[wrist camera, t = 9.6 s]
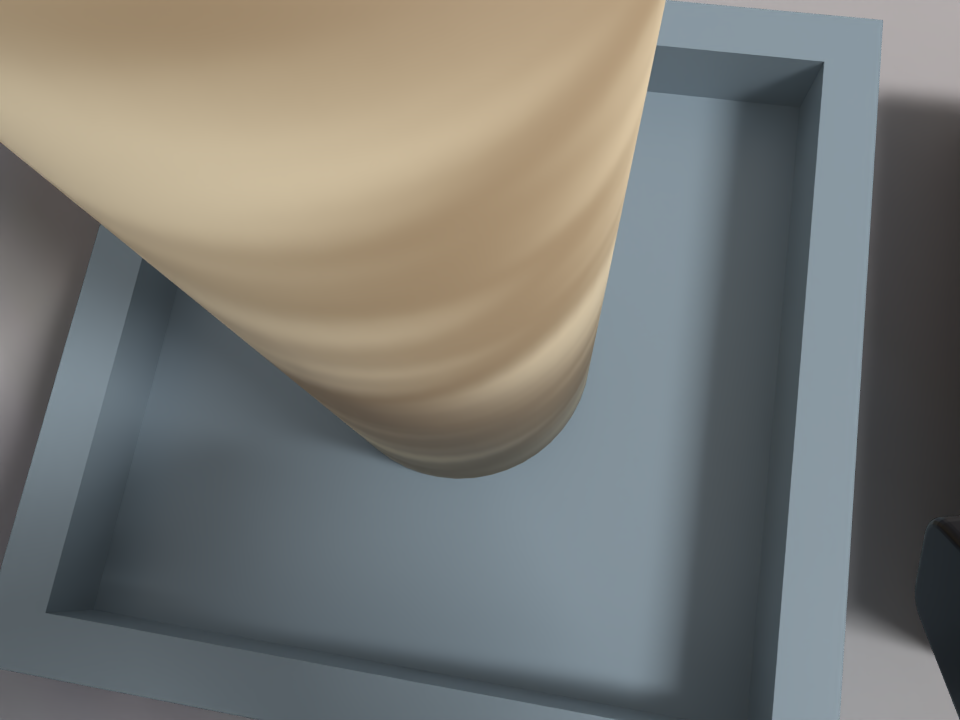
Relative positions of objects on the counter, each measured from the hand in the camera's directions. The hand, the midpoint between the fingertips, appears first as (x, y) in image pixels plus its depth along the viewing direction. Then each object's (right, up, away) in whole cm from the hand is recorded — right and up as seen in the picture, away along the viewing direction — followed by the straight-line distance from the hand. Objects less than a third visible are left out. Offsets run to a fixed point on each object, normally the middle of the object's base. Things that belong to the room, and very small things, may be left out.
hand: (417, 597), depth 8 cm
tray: (0, +2, +10) cm, 10 cm away
